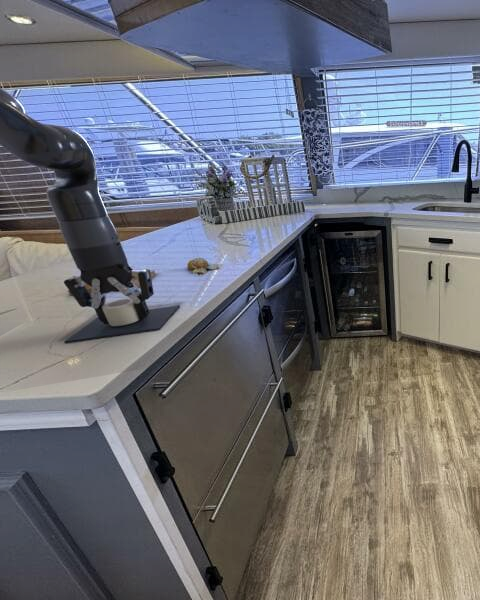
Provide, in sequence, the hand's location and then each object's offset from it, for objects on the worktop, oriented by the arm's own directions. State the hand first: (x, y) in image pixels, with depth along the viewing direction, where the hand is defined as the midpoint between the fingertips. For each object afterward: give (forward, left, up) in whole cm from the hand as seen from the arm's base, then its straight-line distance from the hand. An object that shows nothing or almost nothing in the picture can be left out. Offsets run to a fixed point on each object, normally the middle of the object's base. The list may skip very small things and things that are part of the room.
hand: (127, 319), depth 68 cm
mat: (0, 0, -1) cm, 1 cm away
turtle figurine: (+5, +36, -1) cm, 36 cm away
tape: (0, 0, 0) cm, 0 cm away
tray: (-15, +29, -1) cm, 33 cm away
